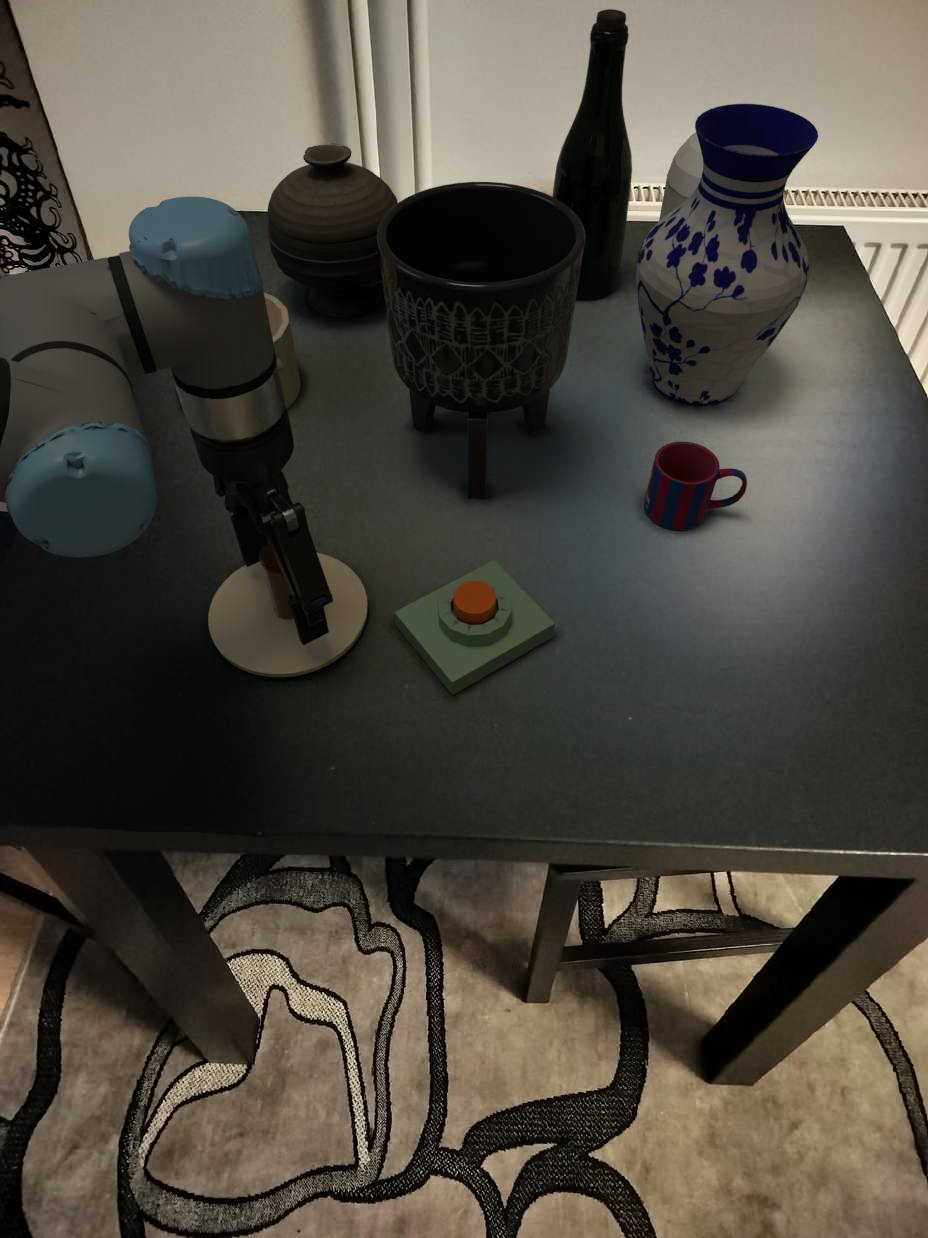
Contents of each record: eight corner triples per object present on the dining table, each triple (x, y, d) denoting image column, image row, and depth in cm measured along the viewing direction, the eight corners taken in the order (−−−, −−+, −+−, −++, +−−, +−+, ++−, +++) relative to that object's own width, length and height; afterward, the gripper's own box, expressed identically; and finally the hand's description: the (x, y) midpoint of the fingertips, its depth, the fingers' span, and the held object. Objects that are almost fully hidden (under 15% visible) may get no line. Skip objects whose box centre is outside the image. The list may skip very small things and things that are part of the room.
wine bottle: (617, 263, 126) (657, -3, 100) (618, 303, 120) (660, 30, 94) (546, 260, 127) (567, -6, 101) (542, 299, 120) (564, 26, 94)
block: (452, 695, 80) (451, 671, 77) (395, 625, 85) (392, 600, 82) (553, 636, 84) (557, 611, 81) (493, 573, 89) (494, 547, 86)
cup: (648, 483, 97) (659, 436, 92) (738, 500, 96) (754, 453, 90) (639, 523, 93) (650, 477, 88) (732, 542, 92) (749, 495, 86)
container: (742, 304, 120) (784, 155, 104) (645, 293, 121) (672, 144, 106) (744, 255, 128) (783, 109, 112) (653, 245, 129) (679, 100, 114)
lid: (254, 708, 79) (232, 650, 72) (185, 601, 87) (160, 538, 79) (398, 632, 84) (391, 570, 77) (321, 537, 92) (309, 472, 85)
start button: (469, 631, 80) (469, 620, 78) (445, 604, 82) (445, 592, 80) (504, 612, 81) (504, 600, 80) (479, 586, 83) (479, 574, 82)
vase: (725, 326, 116) (791, 80, 93) (798, 411, 105) (894, 156, 81) (595, 350, 113) (629, 101, 89) (656, 441, 102) (713, 184, 78)
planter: (361, 466, 99) (333, 247, 78) (452, 377, 109) (448, 163, 89) (508, 530, 93) (521, 310, 72) (590, 429, 103) (621, 212, 82)
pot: (267, 266, 125) (253, 119, 109) (389, 261, 128) (392, 119, 113) (280, 339, 114) (266, 188, 98) (412, 332, 118) (419, 185, 102)
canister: (213, 442, 102) (193, 375, 94) (164, 380, 109) (142, 313, 102) (321, 398, 107) (310, 331, 99) (268, 341, 114) (254, 275, 107)
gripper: (357, 481, 61) (381, 659, 78) (218, 325, 73) (265, 510, 90) (262, 524, 59) (308, 699, 76) (133, 355, 70) (199, 539, 88)
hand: (285, 596), depth 83 cm, fingers open, 11 cm apart
